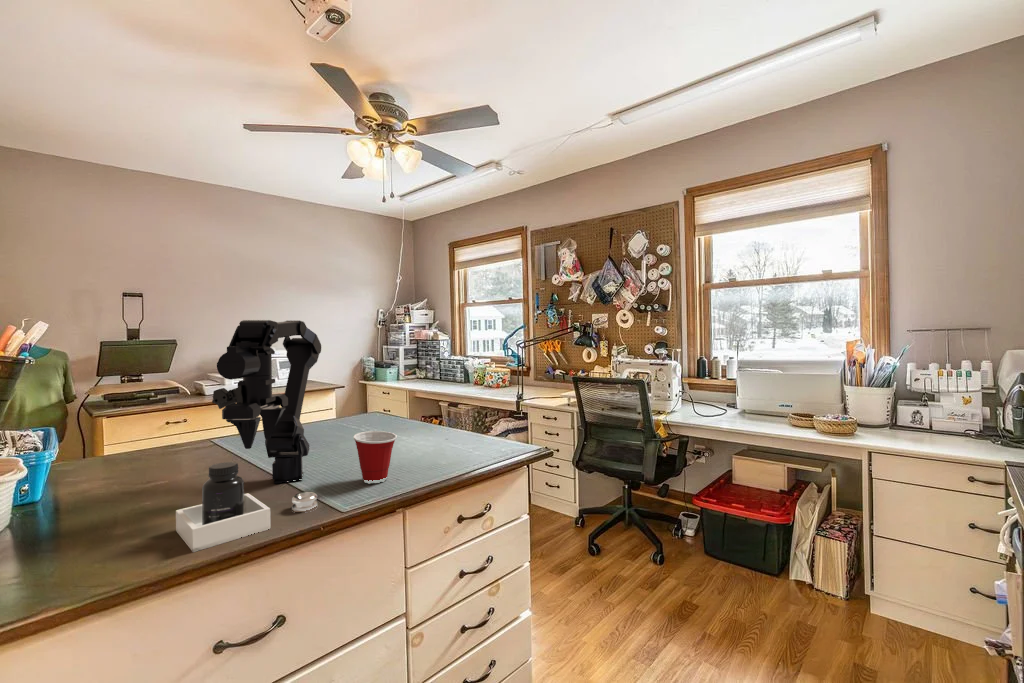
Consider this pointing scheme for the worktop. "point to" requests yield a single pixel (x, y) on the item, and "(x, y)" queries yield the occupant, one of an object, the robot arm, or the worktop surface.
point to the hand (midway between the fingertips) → (258, 443)
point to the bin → (221, 525)
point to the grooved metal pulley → (304, 501)
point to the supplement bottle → (222, 493)
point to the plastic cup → (374, 453)
